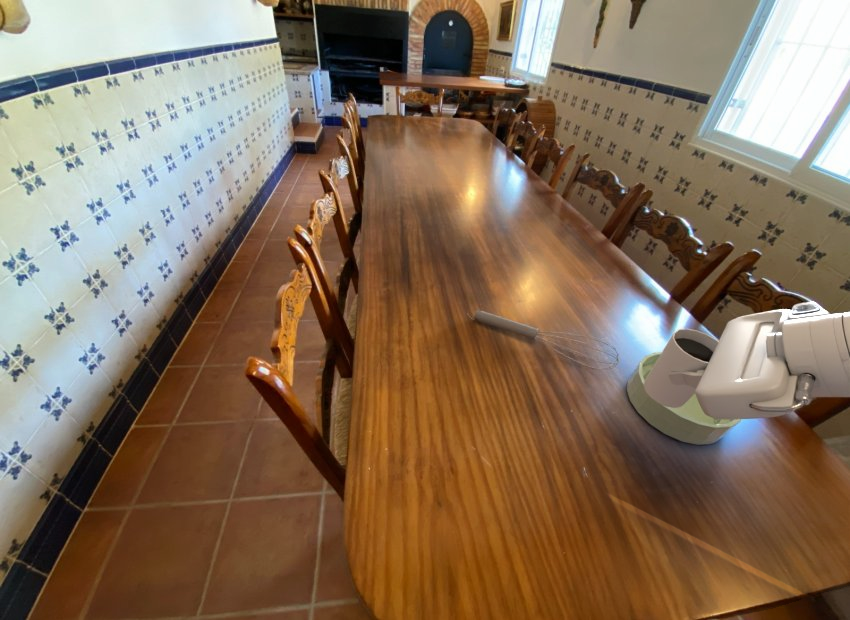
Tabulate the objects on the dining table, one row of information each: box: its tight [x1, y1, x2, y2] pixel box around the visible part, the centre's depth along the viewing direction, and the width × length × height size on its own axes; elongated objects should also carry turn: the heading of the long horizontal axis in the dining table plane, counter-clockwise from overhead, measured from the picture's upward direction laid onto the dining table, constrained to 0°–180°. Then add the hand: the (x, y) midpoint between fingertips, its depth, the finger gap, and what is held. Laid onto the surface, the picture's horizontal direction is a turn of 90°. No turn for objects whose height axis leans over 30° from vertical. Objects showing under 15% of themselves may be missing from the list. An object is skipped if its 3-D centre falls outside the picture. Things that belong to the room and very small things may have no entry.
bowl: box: [626, 351, 742, 446], centre depth 68 cm, size 17×17×6 cm
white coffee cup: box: [644, 328, 719, 408], centre depth 51 cm, size 7×7×10 cm
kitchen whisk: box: [466, 308, 620, 371], centre depth 79 cm, size 6×34×6 cm, turn 62°
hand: (677, 365), depth 51 cm, fingers closed on white coffee cup, 4 cm apart
